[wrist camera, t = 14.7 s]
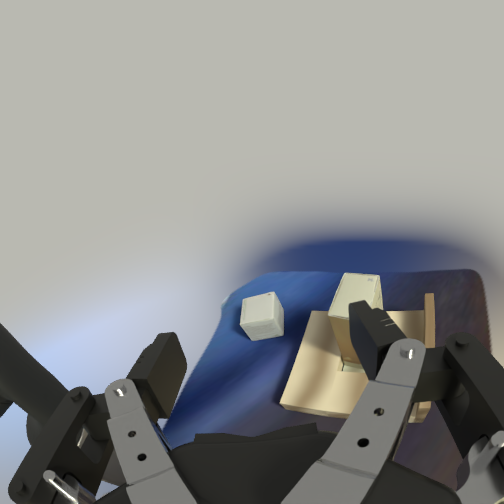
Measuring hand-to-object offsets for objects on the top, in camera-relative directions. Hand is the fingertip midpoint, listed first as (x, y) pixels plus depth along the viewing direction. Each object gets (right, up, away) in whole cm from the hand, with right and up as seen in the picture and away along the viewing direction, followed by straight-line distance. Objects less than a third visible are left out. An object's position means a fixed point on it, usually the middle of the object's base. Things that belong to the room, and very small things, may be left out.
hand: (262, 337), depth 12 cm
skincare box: (+15, -10, +22) cm, 28 cm away
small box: (+2, -9, +33) cm, 34 cm away
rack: (+14, -11, +20) cm, 27 cm away
